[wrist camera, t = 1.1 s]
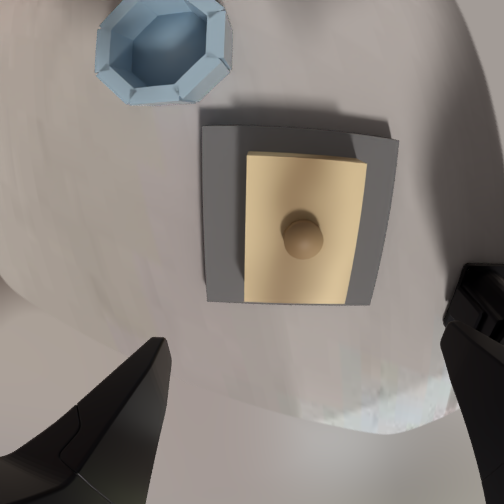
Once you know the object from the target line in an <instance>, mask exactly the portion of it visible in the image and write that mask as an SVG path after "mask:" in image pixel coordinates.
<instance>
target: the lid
mask: <svg viewBox="0 0 504 504" xmlns="http://www.w3.org/2000/svg"><path fill="white" fill-rule="evenodd" d="M366 169H367V164H366V163H364V162H363V161H361V160H359V159H357V158H347V157H337V156H326V155H313V154H299V153H282V152H258V151H248V154H247V174H246V223H245V281H244V302H263V303H300V304H345V300H346V295H347V291H348V286H349V281H350V275H351V270H352V265H353V259H354V254H355V248H356V242H357V236H358V230H359V223H360V217H361V210H362V202H363V195H364V187H365V178H366Z"/></svg>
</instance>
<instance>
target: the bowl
mask: <svg viewBox="0 0 504 504" xmlns="http://www.w3.org/2000/svg"><path fill="white" fill-rule="evenodd" d="M100 27H101V29H98V30H97V42H96V57H95V73H98V74H97V75H96V76H97V77H98V78H99V79H100V80H101V81H102V82H103V83H104V84H105V85H106V86H107V87H108V88H109V89H110V90H112V91H113V92H114V93H115V94H116V95H117V96H118V97H119V98H120V99H121V100H122V101H123V102H124V103H125V104H130V105H134V106H162V105H176V104H195V103H196V102H199V101H200V100H201V99H202V98H203V97H204V96H205V95H206V94H208V93H209V92H210V91H211V90H212V89H213V88H214V87H215V86H216V85H217V84H218V83H219V82H220V81H221V80H222V79H223V78H225V77H226V76H227V75H228V74H229V73H230V71H229V70H228V69H232V43H233V29H232V27H231V24H230V21H229V18H228V16H227V13H226V11H225V9H224V7H223V6H221V5H220V4H219V3H218V2H216V1H215V0H123V1H122V2H121V3H120V4H119V5H118V6H117V7H116V8H115V9H114V10H113V11H112V12H111V13H110V14H109V16H108V17H107V18H106V19H105V20H104V21H103V22H102V23H101V24H100Z"/></svg>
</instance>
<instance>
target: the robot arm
mask: <svg viewBox="0 0 504 504" xmlns="http://www.w3.org/2000/svg"><path fill="white" fill-rule="evenodd" d="M468 269H469V270H468ZM467 270H468V271H467ZM443 324H444V326H445V327H446V328H445V331H444V333H443V336H442V338H441V342H440V346H441V350H442V353H443V357H444V360H445V363H446V367H447V370H448V374H449V377H450V381H451V384H452V387H453V390H454V392H455V395H456V398H457V401H458V403H459V406H460V409H461V412H462V415H463V418H464V421H465V424H466V427H467V430H468V433H469V437H470V440H471V443H472V447H473V450H474V454H475V457H476V461H477V465H478V469H479V473H480V477H481V480H482V486H483V490H484V496H485V501H486V504H504V264H473V263H468V264H466V265H465V266H464V268H463V270H462V273H461V276H460V279H459V282H458V285H457V288H456V291H455V294H454V297H453V299H452V302H451V305H450V307H449V310H448V312H447V315H446V317H445V320H444V323H443ZM171 364H172V360H171V354H170V351H169V347H168V343H167V340H166V338H164V337H152V338H150V339H149V340H148V341H147V342H146V343H145V344H144V345H142V346H141V347H140V348H139V349H138V350H137V351H136V352H135V353H133V354H132V355H131V356H130V357H129V358H128V359H127V360H126V361H124V362H123V363H122V364H121V365H120V366H119V367H118V368H117V369H115V370H114V371H113V372H112V373H111V374H110V375H109V376H108V377H106V378H105V379H104V380H103V381H102V382H101V383H100V384H99V385H97V386H96V387H95V388H94V389H93V390H92V391H91V392H90V393H89V394H87V395H86V396H85V397H84V398H83V399H82V400H81V401H79V402H78V403H77V405H75V406H74V407H73V408H71V409H70V410H69V411H68V412H67V413H66V414H64V416H62V417H61V418H60V419H59V420H57V421H56V422H55V423H54V424H52V425H51V426H50V427H48V428H47V429H46V430H44V431H43V432H42V433H40V434H39V435H37V436H36V437H35V438H33V439H32V440H30V441H29V442H27V443H26V444H24V445H23V446H22V447H20V448H19V449H17V450H16V451H14V452H12V453H10V454H8V455H5V456H2V457H0V504H145V503H146V498H147V493H148V488H149V483H150V479H151V474H152V469H153V464H154V460H155V455H156V451H157V446H158V442H159V437H160V433H161V429H162V424H163V420H164V416H165V411H166V406H167V398H168V389H169V381H170V372H171Z"/></svg>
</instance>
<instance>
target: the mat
mask: <svg viewBox="0 0 504 504" xmlns="http://www.w3.org/2000/svg"><path fill="white" fill-rule="evenodd" d="M398 147H399V140H395V139H391V138H384V137H378V136H371V135H364V134H356V133H348V132H339V131H330V130H319V129H307V128H293V127H275V126H245V125H206V126H202V190H203V227H204V252H205V273H206V292H207V302H226V303H249V304H278V305H370V302H371V299H372V295H373V291H374V287H375V282H376V278H377V274H378V270H379V265H380V261H381V256H382V251H383V246H384V241H385V236H386V231H387V225H388V220H389V214H390V208H391V202H392V195H393V188H394V181H395V174H396V166H397V157H398ZM248 151H258V152H282V153H299V154H313V155H326V156H337V157H347V158H357V159H359V160H361V161H363V162H364V163H366V164H367V169H366V178H365V187H364V195H363V202H362V210H361V217H360V223H359V230H358V236H357V242H356V248H355V254H354V259H353V265H352V270H351V275H350V281H349V286H348V291H347V295H346V300H345V304H300V303H263V302H244V281H245V223H246V174H247V154H248Z"/></svg>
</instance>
